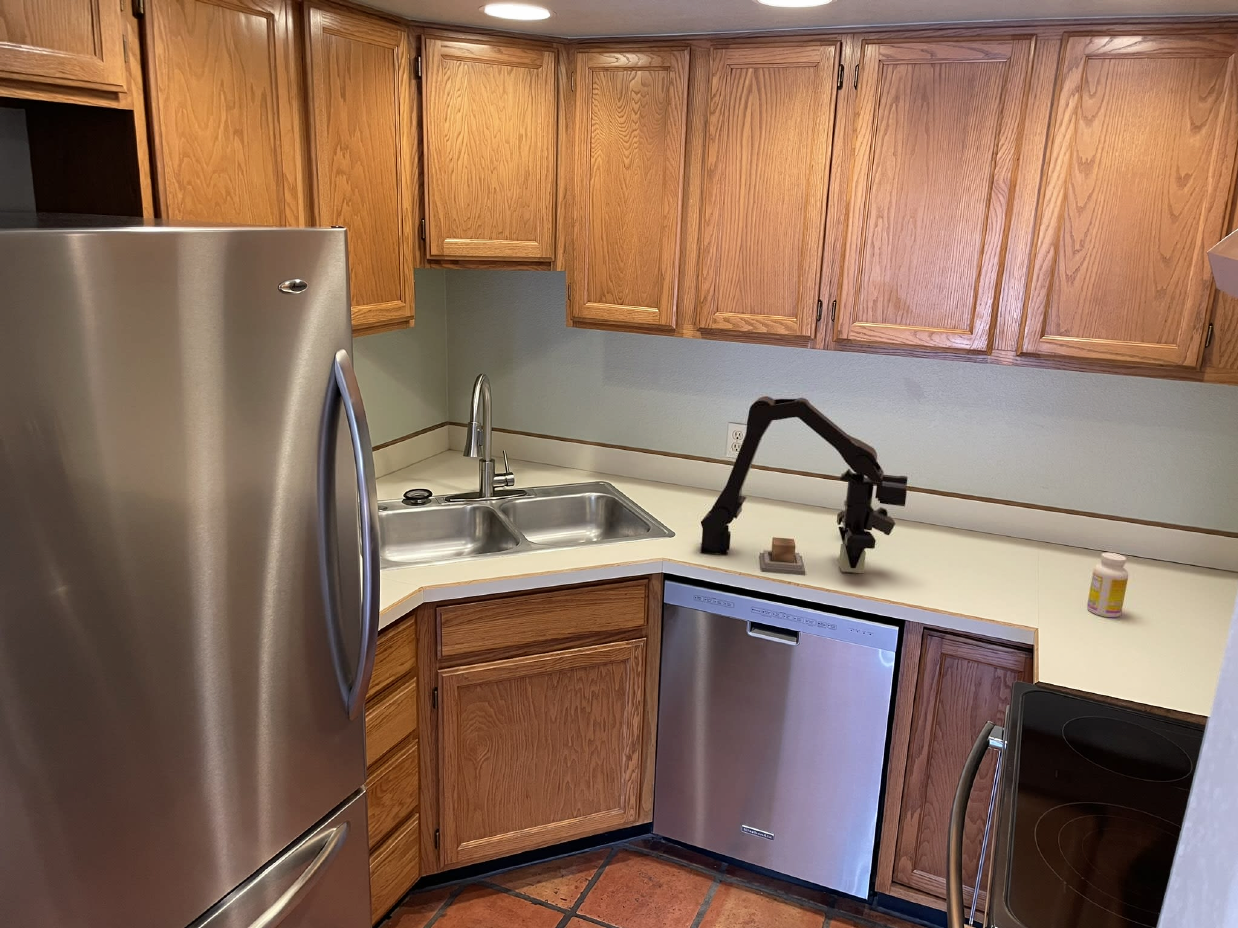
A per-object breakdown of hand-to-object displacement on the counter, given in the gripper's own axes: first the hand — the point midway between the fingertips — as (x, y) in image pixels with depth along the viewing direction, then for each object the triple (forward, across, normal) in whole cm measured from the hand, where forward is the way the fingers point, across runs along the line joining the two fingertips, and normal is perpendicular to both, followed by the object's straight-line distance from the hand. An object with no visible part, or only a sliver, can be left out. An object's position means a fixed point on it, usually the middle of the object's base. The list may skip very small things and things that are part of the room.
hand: (851, 563), depth 214 cm
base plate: (+2, 0, +16) cm, 16 cm away
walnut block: (+1, 0, +16) cm, 16 cm away
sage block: (+1, 0, 0) cm, 1 cm away
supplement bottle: (+2, -13, -52) cm, 54 cm away
